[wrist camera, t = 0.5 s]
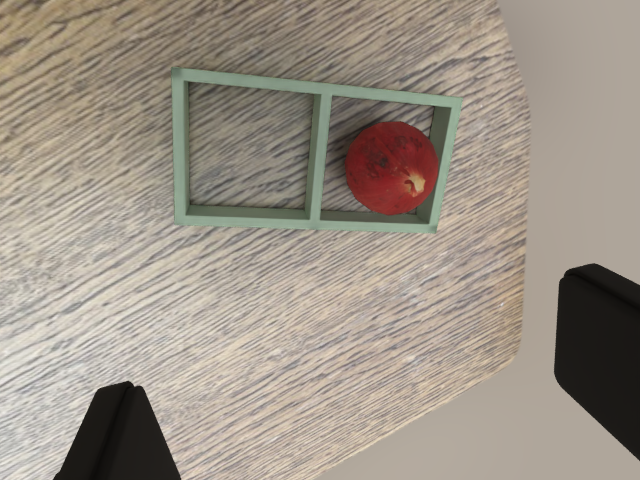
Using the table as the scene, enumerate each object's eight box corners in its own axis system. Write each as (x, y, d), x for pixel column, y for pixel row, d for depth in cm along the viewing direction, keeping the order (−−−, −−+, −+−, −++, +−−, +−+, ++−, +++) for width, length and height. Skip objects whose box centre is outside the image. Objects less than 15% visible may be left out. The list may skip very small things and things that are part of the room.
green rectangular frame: (176, 67, 26) (170, 66, 23) (445, 96, 29) (463, 97, 27) (179, 214, 29) (174, 225, 27) (422, 223, 33) (436, 233, 30)
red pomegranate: (317, 165, 29) (344, 192, 22) (370, 99, 29) (417, 104, 21) (375, 212, 32) (417, 252, 24) (426, 152, 31) (486, 174, 23)
